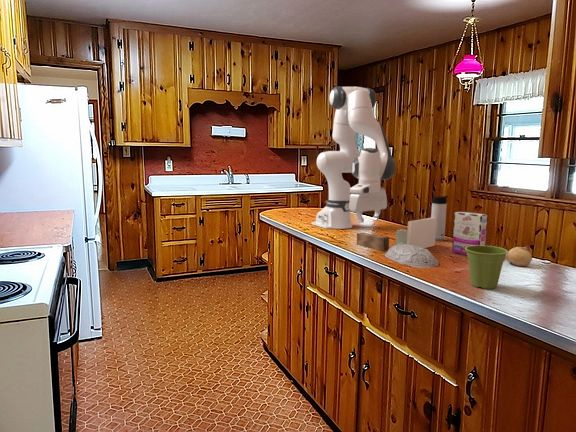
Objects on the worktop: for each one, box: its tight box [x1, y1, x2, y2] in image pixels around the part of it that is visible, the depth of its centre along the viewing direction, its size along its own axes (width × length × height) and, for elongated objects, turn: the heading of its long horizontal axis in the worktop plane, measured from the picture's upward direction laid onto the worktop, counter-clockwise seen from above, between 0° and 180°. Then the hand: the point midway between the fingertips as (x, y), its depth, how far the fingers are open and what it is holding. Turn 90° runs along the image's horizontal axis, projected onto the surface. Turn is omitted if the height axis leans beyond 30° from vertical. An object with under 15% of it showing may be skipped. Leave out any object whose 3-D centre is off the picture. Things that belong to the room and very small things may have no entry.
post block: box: [395, 217, 437, 249], centre depth 184 cm, size 9×18×12 cm, turn 130°
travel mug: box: [430, 195, 449, 242], centre depth 198 cm, size 6×7×20 cm
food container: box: [384, 243, 440, 269], centre depth 164 cm, size 16×25×7 cm, turn 27°
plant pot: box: [465, 245, 509, 290], centre depth 132 cm, size 12×12×11 cm
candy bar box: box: [451, 211, 488, 257], centre depth 171 cm, size 11×5×16 cm, turn 40°
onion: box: [505, 246, 533, 267], centre depth 157 cm, size 8×8×7 cm
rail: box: [356, 232, 390, 252], centre depth 183 cm, size 14×4×5 cm, turn 40°
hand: (368, 221), depth 183 cm, fingers open, 8 cm apart
